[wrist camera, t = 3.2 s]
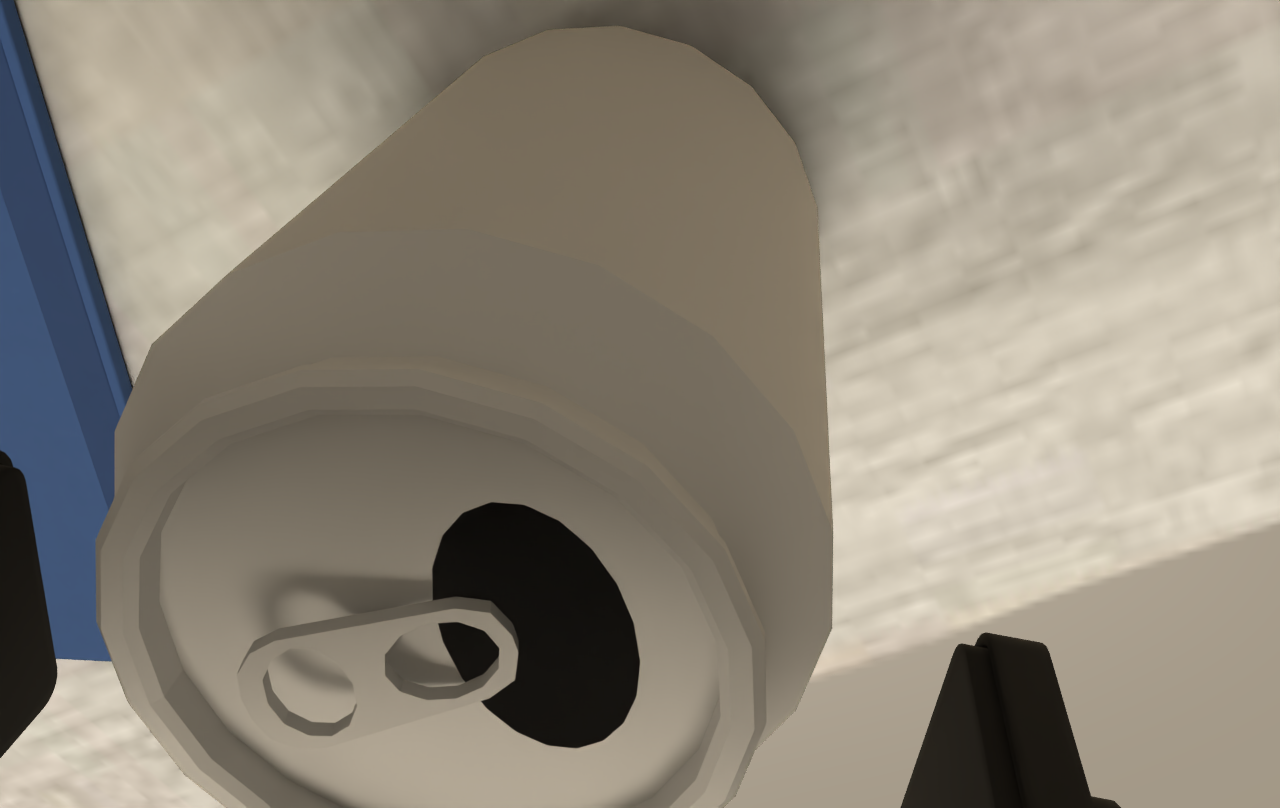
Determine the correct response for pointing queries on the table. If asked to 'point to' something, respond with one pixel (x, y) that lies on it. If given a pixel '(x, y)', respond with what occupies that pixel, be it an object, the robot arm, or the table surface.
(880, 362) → the table surface
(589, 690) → the can
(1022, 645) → the robot arm
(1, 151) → the folder
